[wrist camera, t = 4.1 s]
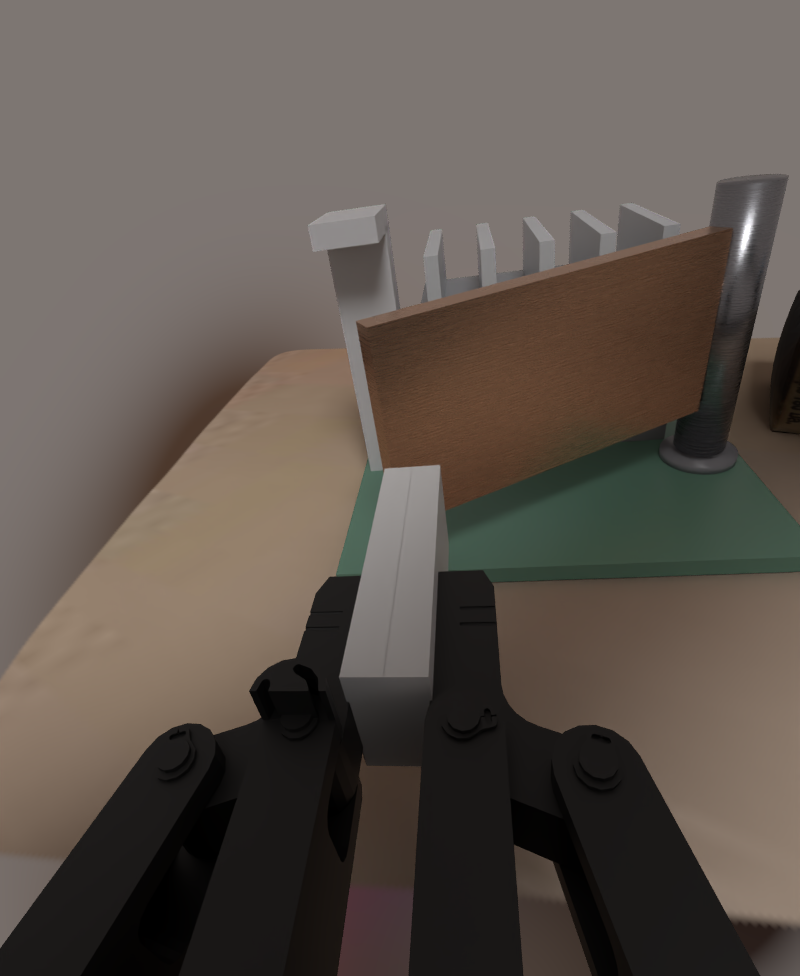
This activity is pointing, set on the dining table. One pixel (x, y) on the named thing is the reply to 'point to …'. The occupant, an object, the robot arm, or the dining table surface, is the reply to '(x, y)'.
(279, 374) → the dining table surface
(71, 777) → the dining table surface
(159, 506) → the dining table surface
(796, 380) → the beverage carton
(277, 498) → the dining table surface
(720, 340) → the hinge
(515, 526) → the heat sink
